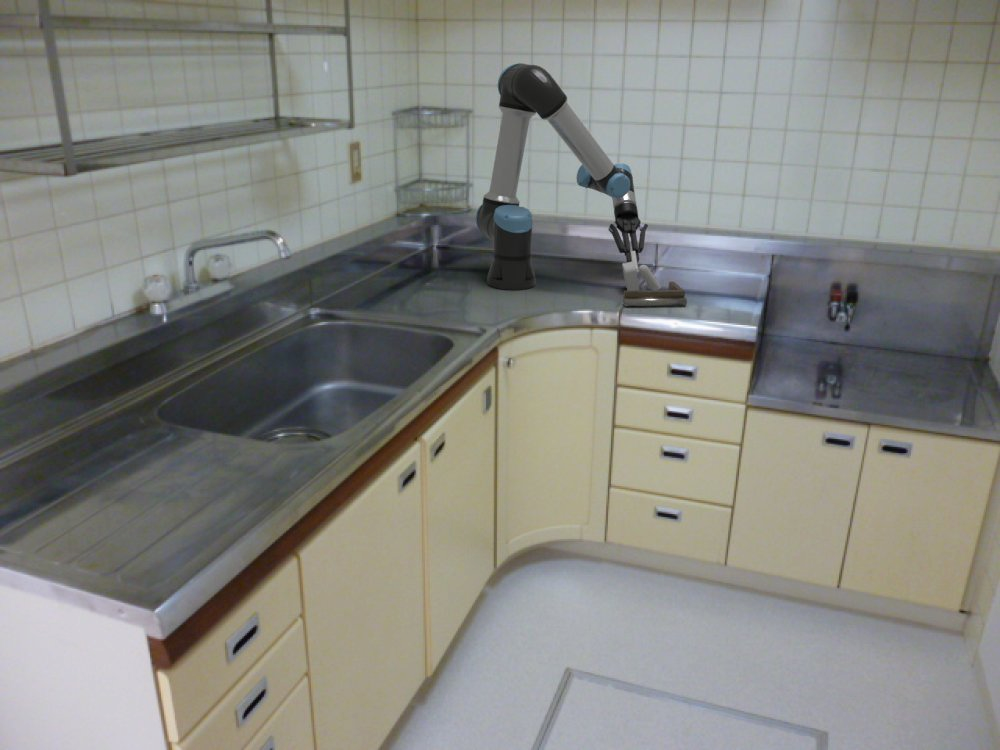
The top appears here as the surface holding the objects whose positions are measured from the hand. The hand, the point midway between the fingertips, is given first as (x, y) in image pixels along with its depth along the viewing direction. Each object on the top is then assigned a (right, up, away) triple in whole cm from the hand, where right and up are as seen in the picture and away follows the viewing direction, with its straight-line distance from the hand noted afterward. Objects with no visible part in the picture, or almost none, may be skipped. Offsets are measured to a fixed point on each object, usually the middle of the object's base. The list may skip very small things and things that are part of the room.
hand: (634, 270), depth 264 cm
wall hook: (+1, -7, -7) cm, 10 cm away
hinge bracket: (+2, -11, -16) cm, 20 cm away
